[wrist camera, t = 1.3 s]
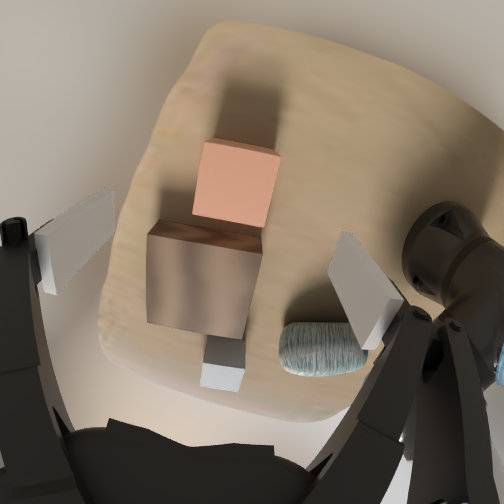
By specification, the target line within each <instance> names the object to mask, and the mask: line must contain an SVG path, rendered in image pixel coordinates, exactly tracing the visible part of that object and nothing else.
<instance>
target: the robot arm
mask: <svg viewBox="0 0 504 504" xmlns="http://www.w3.org/2000/svg"><path fill="white" fill-rule="evenodd" d="M115 194H116V189H112V188H103V189H101V190H99V191H98V192H96V193H94V194H93V195H91V196H89V197H88V198H86V199H84V200H83V201H81V202H79V203H78V204H76V205H75V206H73V207H71V208H70V209H68V210H67V211H65V212H64V213H62V214H61V215H59V216H58V217H56V218H55V219H52V220H50V221H48V222H47V223H46V224H44V225H43V226H41V227H40V228H39V229H37V230H36V231H35V232H33V233H32V234H30V235H29V236H28V231H27V223H26V219H25V218H23V217H13V218H9V219H7V220H5V221H3V222H2V223H1V224H0V235H1V240H2V246H0V451H1V455H2V458H3V462H4V465H5V467H3V468H1V469H0V504H380V503H381V501H382V499H383V497H384V495H385V493H386V491H387V489H388V487H389V485H390V483H391V481H392V479H393V476H394V474H395V471H396V470H397V467H398V465H399V462H400V460H401V458H402V455H404V457H405V458H406V460H407V461H408V462H410V463H413V466H412V473H411V481H410V487H409V492H408V499H407V504H504V466H503V464H502V461H501V459H500V457H499V455H498V452H497V450H496V448H495V446H494V444H493V442H492V440H491V438H490V431H489V424H488V417H487V412H486V410H487V402H486V400H485V399H484V396H483V391H485V390H486V389H487V388H488V387H489V386H490V385H491V384H492V383H494V382H495V381H496V382H497V384H499V385H501V386H504V247H503V246H501V245H500V244H499V243H497V242H496V241H494V240H493V239H492V238H490V237H489V235H488V233H487V232H486V231H485V229H484V228H483V226H482V225H481V223H480V222H479V220H478V219H477V218H476V216H475V215H474V214H473V213H472V212H471V211H470V210H469V209H467V208H465V207H464V206H462V205H460V204H458V203H455V202H443V203H440V204H437V205H435V206H433V207H431V208H430V209H428V210H427V211H426V212H425V213H424V214H423V215H422V216H421V217H420V218H419V219H418V220H417V221H416V223H415V224H414V226H413V227H412V229H411V231H410V233H409V235H408V237H407V239H406V242H405V245H404V249H403V255H402V268H403V272H404V275H405V278H406V279H407V281H408V282H409V283H410V285H411V286H412V287H413V288H414V290H415V291H417V292H418V293H419V294H421V295H422V296H425V297H427V298H429V299H431V300H433V301H435V302H437V303H439V304H441V305H443V306H444V307H445V310H444V311H443V312H442V313H441V314H440V315H439V316H438V317H436V318H435V319H434V320H433V321H432V318H431V317H430V315H429V314H428V313H427V312H426V311H425V310H423V309H422V308H419V307H417V306H413V305H412V306H411V305H410V304H409V303H408V301H407V300H406V298H405V297H404V296H403V294H401V292H400V290H399V289H398V288H397V286H396V285H395V284H394V282H393V281H392V280H390V279H389V278H388V277H387V276H386V275H385V273H384V272H383V271H382V270H381V268H380V267H379V266H378V264H377V263H376V262H375V261H374V259H373V258H372V257H371V255H370V254H369V253H368V252H367V250H366V249H365V248H364V247H363V246H362V244H361V243H360V242H359V241H358V239H357V238H356V237H355V236H354V235H353V234H351V233H347V232H343V231H341V234H340V237H339V240H338V243H337V245H336V248H335V251H334V254H333V256H332V259H331V262H330V265H329V267H328V270H327V273H328V276H329V278H330V280H331V282H332V284H333V286H334V288H335V291H336V293H337V295H338V297H339V299H340V302H341V304H342V306H343V308H344V311H345V313H346V315H347V317H348V320H349V322H350V324H351V327H352V329H353V331H354V334H355V336H356V338H357V341H358V343H359V345H360V348H361V349H365V350H376V348H377V346H378V345H379V343H380V342H381V340H382V341H383V343H384V345H385V346H384V348H383V349H382V351H381V352H380V354H379V355H378V357H377V358H376V360H375V361H374V363H373V364H374V366H373V368H372V370H371V372H370V373H369V374H368V375H367V376H366V378H365V380H364V382H363V386H362V388H361V390H360V391H359V393H358V395H357V397H356V398H355V400H354V402H353V403H352V405H351V407H350V408H349V410H348V411H347V413H346V415H345V416H344V418H343V419H342V421H341V422H340V424H339V425H338V427H337V428H336V430H335V431H334V433H333V434H332V436H331V437H330V438H329V440H328V441H327V443H326V444H325V446H324V447H323V448H322V450H321V451H320V452H319V454H318V455H317V456H316V458H315V459H314V460H313V461H312V463H311V464H310V465H309V466H308V467H307V468H306V469H304V468H303V467H301V466H300V465H297V464H296V463H294V462H291V461H290V460H287V459H285V458H282V457H279V456H275V455H274V446H271V445H251V444H237V443H231V444H222V445H213V446H212V445H211V446H199V447H189V446H185V445H182V444H180V443H177V442H175V441H173V440H171V439H168V438H166V437H164V436H162V435H160V434H157V433H155V432H153V431H151V430H149V429H146V428H142V427H139V426H134V425H131V424H127V423H124V422H120V421H117V420H114V419H111V418H109V421H108V423H107V427H106V428H105V427H92V428H84V429H80V430H76V431H75V429H74V427H73V425H72V423H71V421H70V419H69V416H68V414H67V411H66V408H65V405H64V402H63V399H62V396H61V393H60V390H59V387H58V384H57V380H56V377H55V373H54V370H53V366H52V362H51V358H50V354H49V350H48V345H47V341H46V336H45V331H44V326H43V320H42V314H41V307H40V300H39V293H38V288H37V284H38V283H39V282H40V281H41V280H42V284H43V289H44V292H47V293H50V294H53V295H56V296H57V295H58V294H59V293H60V292H61V291H62V289H63V288H64V287H65V286H66V284H68V282H69V281H70V280H71V279H72V278H73V277H74V275H75V274H76V273H77V272H78V271H79V270H80V269H81V268H82V267H83V266H84V264H85V263H86V262H87V261H88V260H89V259H90V258H91V257H92V256H93V255H94V254H95V253H96V252H97V250H98V249H99V248H100V247H101V246H102V245H103V244H104V243H105V242H106V241H107V240H108V239H109V238H110V237H111V236H112V235H113V234H114V227H115Z"/></svg>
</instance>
